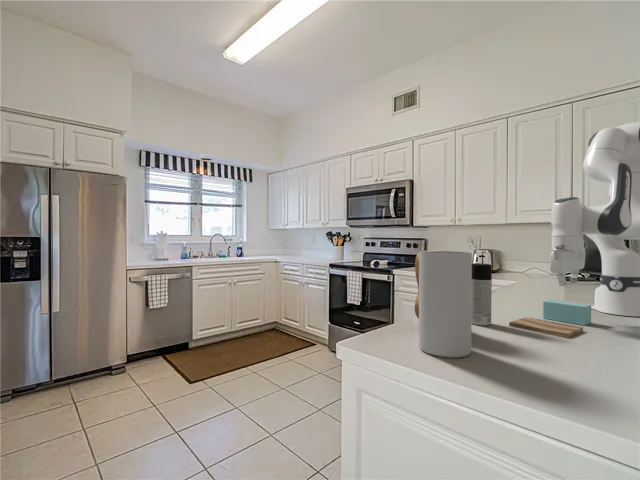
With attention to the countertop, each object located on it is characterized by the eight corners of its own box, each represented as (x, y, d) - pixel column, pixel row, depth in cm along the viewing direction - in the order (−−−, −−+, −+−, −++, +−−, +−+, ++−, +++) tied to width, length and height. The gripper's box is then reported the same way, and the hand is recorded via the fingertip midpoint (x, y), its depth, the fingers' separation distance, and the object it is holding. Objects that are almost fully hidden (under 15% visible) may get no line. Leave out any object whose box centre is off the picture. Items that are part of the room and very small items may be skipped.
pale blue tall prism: (550, 315, 121) (550, 299, 121) (591, 322, 112) (591, 305, 112) (543, 318, 118) (543, 301, 118) (584, 325, 108) (584, 307, 108)
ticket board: (526, 320, 115) (526, 316, 115) (582, 331, 102) (582, 326, 102) (509, 325, 108) (509, 321, 108) (567, 338, 95) (567, 333, 95)
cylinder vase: (408, 345, 88) (409, 251, 88) (446, 340, 93) (446, 251, 92) (442, 361, 76) (442, 253, 76) (482, 355, 81) (483, 252, 81)
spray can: (486, 321, 114) (486, 263, 114) (495, 326, 107) (495, 264, 107) (466, 320, 115) (466, 263, 114) (473, 326, 108) (473, 264, 108)
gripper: (566, 246, 106) (567, 289, 107) (588, 243, 118) (589, 281, 118) (543, 246, 111) (545, 286, 112) (567, 243, 123) (568, 280, 123)
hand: (568, 284), depth 115 cm, fingers open, 8 cm apart
